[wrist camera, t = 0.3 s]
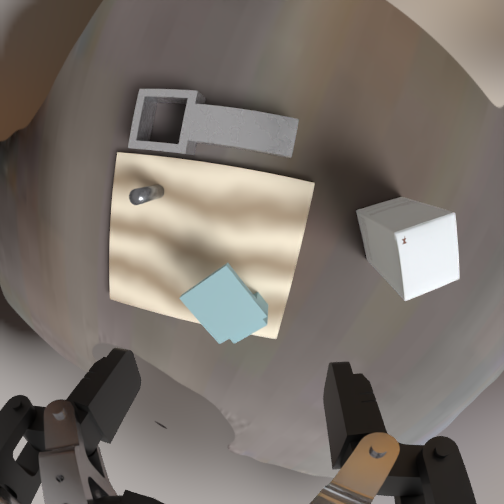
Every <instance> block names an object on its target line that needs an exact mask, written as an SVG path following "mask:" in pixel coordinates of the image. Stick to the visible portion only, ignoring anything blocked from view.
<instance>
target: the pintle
mask: <svg viewBox="0 0 504 504" xmlns="http://www.w3.org/2000/svg"><path fill="white" fill-rule="evenodd" d="M163 195H164V188H163V186H161V185H159V184H158V185H152V186H147V187H142V188H136V189H133V190H132V191H131V192H130V194H129V200H130V202H131V203H132V204H133V205H139V204H143V203H146V202H149V201H152V200H155V199H159V198H161V197H162V196H163Z"/></svg>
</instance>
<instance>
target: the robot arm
mask: <svg viewBox="0 0 504 504" xmlns="http://www.w3.org/2000/svg"><path fill="white" fill-rule="evenodd" d="M140 386H141V377H140V374H139V371H138V367H137V364H136V361H135V358H134V354H133V352H132V351H131V350H126V349H120V348H114V349H113V350H112V351H111V352H110V353H109V355H108V356H107V357H103V358H102V359H100V360H99V361H97V362H96V363H94V365H93V366H92V367H91V368H90V370H89V372H87V374H86V375H85V376H84V378H83V379H82V380H81V381H80V383H79V384H78V385H77V386H76V388H75V389H74V390H73V392H72V393H71V394H70V396H69V397H68V398H67V399H66V400H63V399H60V400H55V401H53V402H51V403H50V404H48V405H47V407H40V406H33V405H32V404H31V402H30V400H29V399H28V398H27V397H26V396H23V395H17V396H14V397H12V398H11V399H9V401H8V402H7V403H6V404H5V405H4V407H3V408H2V409H1V411H0V504H31V503H32V500H33V498H34V496H35V494H36V492H37V490H38V488H39V486H40V484H41V483H42V489H43V496H44V501H45V504H164V503H162V502H160V501H158V500H156V499H154V498H151V497H147V496H144V495H140V494H137V493H134V492H131V491H128V490H125V492H124V494H123V496H118V495H117V493H116V492H115V490H114V489H113V487H112V485H111V483H110V481H109V478H108V475H107V472H106V469H105V465H104V462H103V458H102V455H101V452H100V448H99V446H98V444H99V442H100V440H101V441H104V442H107V443H111V441H112V439H113V438H114V436H115V434H116V432H117V430H118V428H119V426H120V424H121V422H122V421H123V419H124V417H125V415H126V413H127V412H128V410H129V408H130V406H131V404H132V402H133V401H134V398H135V397H136V395H137V393H138V391H139V389H140ZM323 400H324V409H325V416H326V423H327V430H328V437H329V445H330V453H331V461H332V469H340V471H339V472H338V473H337V475H336V476H335V477H334V478H333V480H332V481H331V482H330V483H329V484H328V485H327V486H325V487H324V488H323V489H322V490H321V491H320V493H319V494H318V495H317V496H316V497H315V498H314V500H313V501H312V502H311V503H310V504H371V502H372V501H373V499H374V497H375V496H376V495H384V496H394V498H395V504H476V500H475V497H474V493H473V490H472V487H471V484H470V480H469V478H468V474H467V472H466V468H465V465H464V463H463V460H462V457H461V454H460V452H459V449H458V446H457V445H456V443H455V442H454V441H453V440H451V439H450V438H448V437H443V436H438V437H434V438H432V439H430V440H429V441H427V442H426V444H425V445H406V444H401V443H398V441H397V440H396V439H395V438H394V437H393V436H391V435H389V434H388V433H387V431H386V429H385V426H384V422H383V419H382V416H381V413H380V410H379V407H378V404H377V402H376V398H375V396H374V394H373V390H372V387H371V384H370V382H369V381H368V380H367V379H366V378H365V376H364V375H363V374H362V373H361V374H353V372H352V369H351V366H350V363H349V362H332V363H329V367H328V372H327V377H326V382H325V387H324V396H323ZM22 436H24V437H25V439H26V440H27V441H28V442H27V444H26V445H25V447H24V448H23V450H22V452H21V453H20V455H19V457H18V458H17V460H16V461H15V460H14V458H13V451H14V449H15V447H16V446H17V444H18V443H19V441H20V439H21V438H22Z"/></svg>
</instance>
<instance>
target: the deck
mask: <svg viewBox="0 0 504 504" xmlns="http://www.w3.org/2000/svg"><path fill="white" fill-rule="evenodd" d="M158 184H159V185H161V186H163V188H164V195H163V196H162V197H161V198H159V199H155V200H152V201H149V202H146V203H143V204H139V205H133V204H132V203H131V202H130V200H129V194H130V192H131V191H132V190H133V189H136V188H142V187H147V186H152V185H158ZM314 185H315V183H313V182H309V181H304V180H300V179H295V178H290V177H286V176H281V175H276V174H271V173H266V172H261V171H256V170H250V169H245V168H239V167H233V166H227V165H221V164H215V163H208V162H201V161H194V160H187V159H179V158H171V157H163V156H153V155H144V154H133V153H121V152H117V158H116V166H115V174H114V183H113V193H112V205H111V221H110V246H109V283H110V299H112V300H115V301H118V302H122V303H125V304H128V305H132V306H135V307H139V308H142V309H146V310H149V311H153V312H156V313H160V314H164V315H168V316H172V317H175V318H179V319H183V320H187V321H192V322H196V323H200V322H199V321H198V320H197V318H196V317H195V316H194V315H193V314H192V313H191V312H190V310H189V309H188V308H187V307H186V306H185V305H184V303H183V302H182V301H181V300H180V299H179V298H180V296H181V295H182V294H183V293H185V292H186V291H187V290H189V289H190V288H192V287H193V286H195V285H196V284H198V283H199V282H200V281H202V280H203V279H205V278H206V277H208V276H209V275H210V274H212V273H213V272H215V271H216V270H218V269H219V268H221V267H222V266H223V265H225V264H226V263H229V264H230V266H231V267H232V268H233V270H234V271H235V272H236V273H237V275H238V276H239V277H240V278H241V280H242V281H243V282H244V284H245V285H246V286H247V287H248V289H249V290H250V291H251V292H252V294H255V293H256V292H259V294H260V295H261V296H262V297H263V299H264V300H265V301H266V302H267V304H268V322H267V325H266V326H265V327H263V328H261V329H259V330H258V331H256V332H254V333H252V334H251V335H256V336H262V337H267V338H273V339H276V338H277V335H278V331H279V327H280V324H281V320H282V317H283V313H284V309H285V306H286V302H287V298H288V294H289V291H290V287H291V283H292V279H293V275H294V271H295V267H296V263H297V259H298V255H299V251H300V247H301V243H302V238H303V234H304V230H305V226H306V221H307V217H308V213H309V208H310V204H311V199H312V195H313V190H314ZM200 324H201V323H200Z"/></svg>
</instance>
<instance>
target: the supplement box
mask: <svg viewBox="0 0 504 504" xmlns="http://www.w3.org/2000/svg"><path fill="white" fill-rule="evenodd" d="M356 213H357V217H358V221H359V226H360V230H361V234H362V239H363V243H364V248H365V253H366V258H367V261H368V262H369V263H370V264H371V265H372V266H373V267H374V268H375V269H376V270H377V271H378V272H379V273H380V275H381V276H382V277H383V278H384V279H385V280H386V281H387V282H388V283H389V284H390V285H391V286H392V287H393V289H394V290H395V291H396V292H397V293H398V294H399V295H400V296H401V297H402V298H403V300H404V301H407V300H409V299H412V298H414V297H417V296H419V295H422V294H424V293H427V292H429V291H432V290H434V289H436V288H439V287H441V286H444V285H446V284H448V283H451V282H453V281H455V280H457V279H459V254H458V241H457V227H456V216H455V213H454V212H451V211H448V210H445V209H442V208H439V207H435V206H432V205H429V204H425V203H422V202H418V201H415V200H411V199H408V198H404V197H399V198H395V199H392V200H388V201H385V202H382V203H378V204H375V205H372V206H368V207H365V208H362V209H358V210H356Z"/></svg>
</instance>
